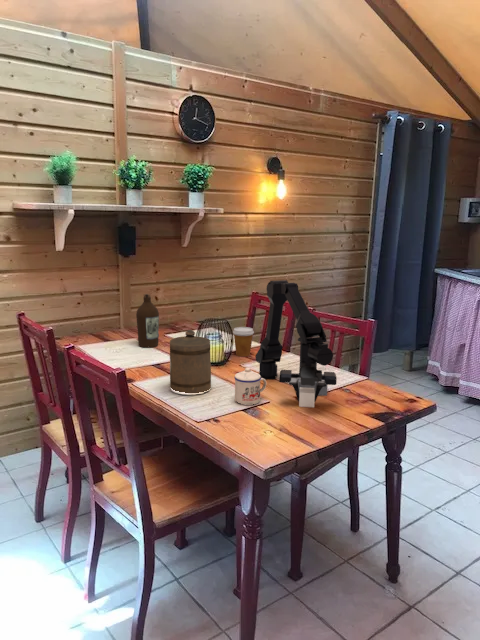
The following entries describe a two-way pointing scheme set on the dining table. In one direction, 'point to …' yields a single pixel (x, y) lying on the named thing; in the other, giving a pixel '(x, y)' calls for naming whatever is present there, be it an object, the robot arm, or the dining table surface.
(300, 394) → the cream cube
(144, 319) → the olive oil
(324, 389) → the gray square block
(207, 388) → the wooden container
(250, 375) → the teacup with lid
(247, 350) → the disposable coffee cup
